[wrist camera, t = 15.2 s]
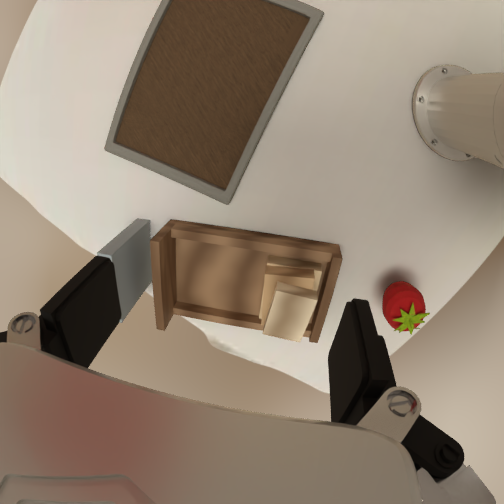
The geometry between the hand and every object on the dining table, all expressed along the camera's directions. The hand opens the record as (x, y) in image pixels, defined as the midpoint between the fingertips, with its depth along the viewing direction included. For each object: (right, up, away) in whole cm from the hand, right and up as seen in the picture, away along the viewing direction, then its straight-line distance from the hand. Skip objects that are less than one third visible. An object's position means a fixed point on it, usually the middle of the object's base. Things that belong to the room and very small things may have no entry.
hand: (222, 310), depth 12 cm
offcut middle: (+6, -3, +29) cm, 30 cm away
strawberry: (+22, -3, +30) cm, 38 cm away
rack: (+1, -1, +32) cm, 33 cm away
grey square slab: (-15, +2, +33) cm, 36 cm away
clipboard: (-4, +25, +21) cm, 33 cm away
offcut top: (+6, -5, +27) cm, 28 cm away
